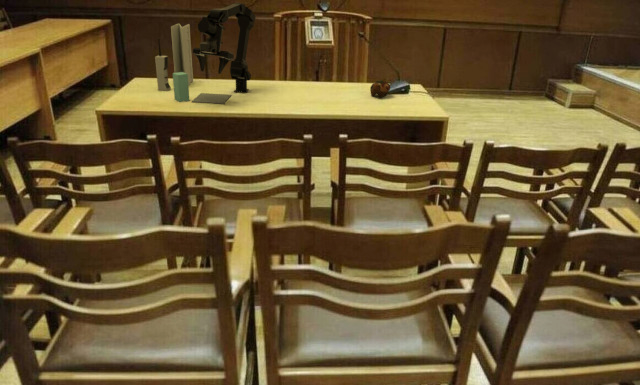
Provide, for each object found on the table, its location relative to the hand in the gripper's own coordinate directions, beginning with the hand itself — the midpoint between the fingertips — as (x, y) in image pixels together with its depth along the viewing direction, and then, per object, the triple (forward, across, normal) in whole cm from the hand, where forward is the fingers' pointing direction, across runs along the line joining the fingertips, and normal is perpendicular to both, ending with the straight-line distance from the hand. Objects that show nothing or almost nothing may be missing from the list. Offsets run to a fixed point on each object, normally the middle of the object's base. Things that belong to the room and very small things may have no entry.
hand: (210, 72), depth 228 cm
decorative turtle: (-4, +65, +56) cm, 86 cm away
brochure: (+6, -33, +27) cm, 43 cm away
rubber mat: (+11, -4, +10) cm, 16 cm away
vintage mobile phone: (+11, -34, +12) cm, 38 cm away
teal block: (+14, -14, +1) cm, 20 cm away
